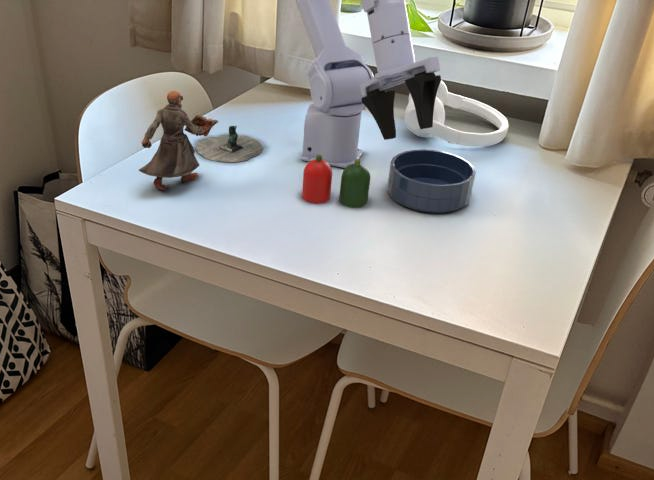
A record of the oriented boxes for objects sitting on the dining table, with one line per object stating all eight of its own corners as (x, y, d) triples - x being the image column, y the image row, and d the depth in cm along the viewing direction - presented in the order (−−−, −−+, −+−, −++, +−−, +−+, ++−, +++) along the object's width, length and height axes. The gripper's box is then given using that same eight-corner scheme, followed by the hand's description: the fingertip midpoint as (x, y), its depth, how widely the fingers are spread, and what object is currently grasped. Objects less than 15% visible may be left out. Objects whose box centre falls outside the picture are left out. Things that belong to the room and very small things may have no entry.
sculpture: (266, 139, 139) (265, 118, 131) (258, 185, 138) (256, 167, 130) (203, 129, 140) (198, 108, 132) (194, 175, 138) (189, 156, 130)
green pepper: (340, 207, 119) (344, 165, 115) (338, 194, 123) (341, 153, 118) (368, 208, 119) (374, 166, 115) (365, 194, 123) (370, 153, 118)
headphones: (398, 140, 140) (503, 164, 138) (408, 99, 134) (518, 123, 133) (406, 104, 155) (501, 125, 153) (416, 65, 149) (514, 87, 148)
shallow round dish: (378, 205, 120) (382, 176, 117) (396, 171, 130) (400, 144, 127) (463, 221, 117) (469, 192, 114) (474, 185, 127) (480, 157, 124)
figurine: (216, 171, 127) (214, 82, 118) (228, 190, 122) (228, 99, 112) (134, 180, 123) (125, 89, 114) (143, 200, 118) (135, 106, 108)
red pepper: (296, 194, 122) (298, 153, 117) (318, 188, 124) (321, 147, 119) (313, 206, 119) (316, 164, 114) (335, 199, 121) (339, 157, 117)
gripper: (339, 56, 114) (356, 146, 117) (409, 25, 103) (426, 125, 105) (372, 53, 118) (388, 141, 121) (442, 23, 107) (458, 120, 109)
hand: (407, 133), depth 113 cm, fingers open, 7 cm apart
